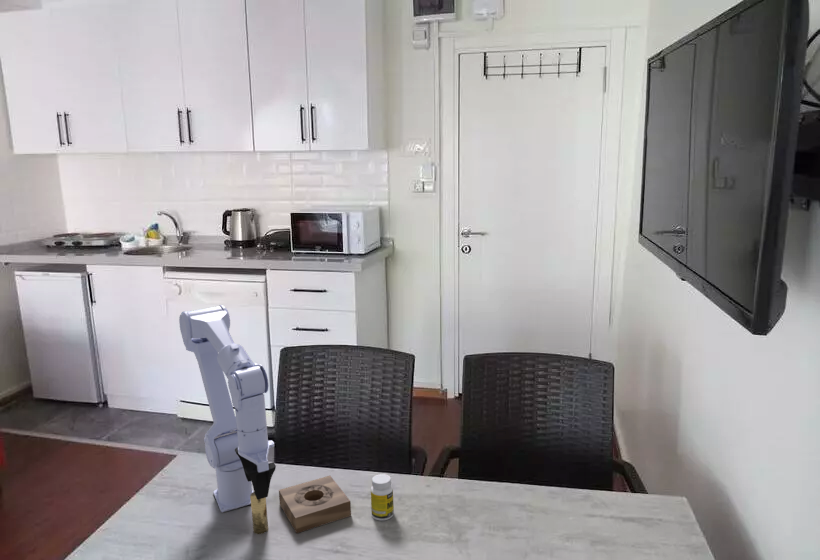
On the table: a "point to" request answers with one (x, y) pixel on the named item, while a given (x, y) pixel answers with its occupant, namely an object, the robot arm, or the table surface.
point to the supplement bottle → (382, 497)
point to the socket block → (314, 503)
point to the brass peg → (259, 514)
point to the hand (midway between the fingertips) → (257, 488)
